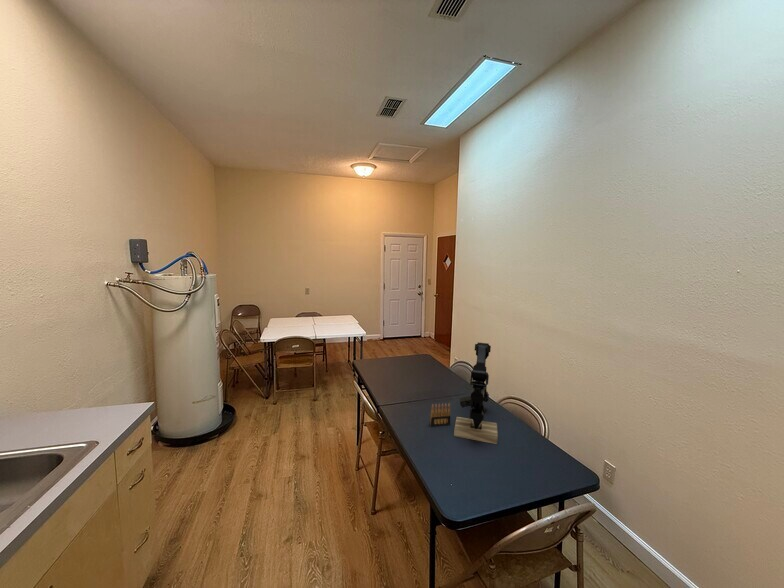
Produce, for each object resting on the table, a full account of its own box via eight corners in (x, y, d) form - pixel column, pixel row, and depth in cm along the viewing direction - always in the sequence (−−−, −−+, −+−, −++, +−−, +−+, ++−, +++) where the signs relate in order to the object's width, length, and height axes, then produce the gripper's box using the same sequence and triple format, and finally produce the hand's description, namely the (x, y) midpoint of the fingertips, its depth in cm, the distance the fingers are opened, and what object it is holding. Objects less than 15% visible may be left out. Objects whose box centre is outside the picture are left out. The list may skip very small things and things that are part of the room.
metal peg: (471, 430, 161) (472, 411, 159) (479, 432, 160) (481, 413, 158) (471, 434, 157) (472, 415, 156) (479, 436, 156) (480, 417, 154)
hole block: (456, 423, 167) (456, 416, 166) (496, 430, 161) (496, 423, 161) (454, 436, 155) (454, 428, 155) (497, 444, 150) (497, 436, 149)
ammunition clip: (430, 426, 163) (431, 404, 162) (429, 424, 165) (430, 403, 164) (450, 425, 165) (451, 403, 164) (449, 423, 167) (450, 401, 166)
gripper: (462, 384, 167) (461, 412, 169) (459, 399, 149) (458, 430, 151) (484, 387, 164) (482, 416, 166) (484, 403, 146) (482, 435, 148)
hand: (476, 423), depth 158 cm, fingers open, 9 cm apart
